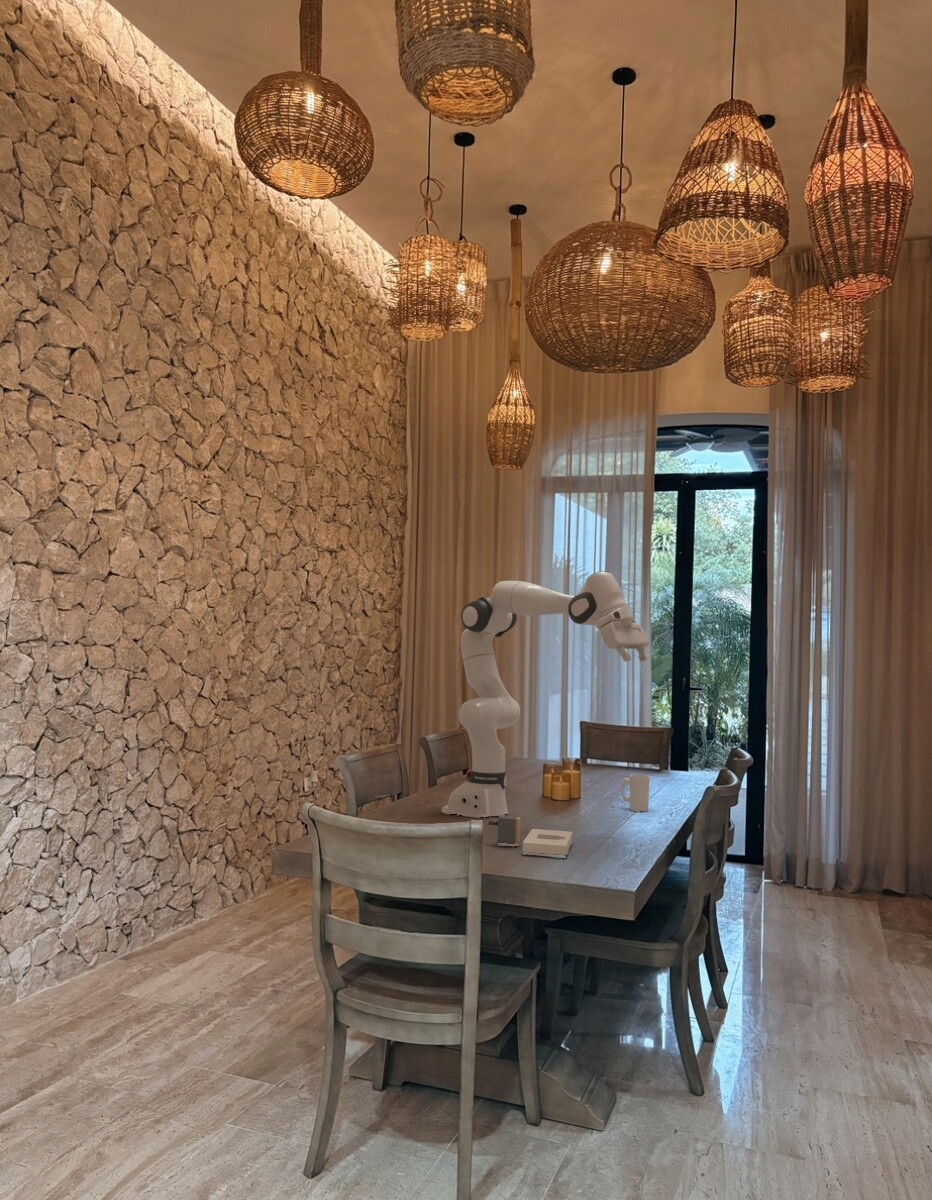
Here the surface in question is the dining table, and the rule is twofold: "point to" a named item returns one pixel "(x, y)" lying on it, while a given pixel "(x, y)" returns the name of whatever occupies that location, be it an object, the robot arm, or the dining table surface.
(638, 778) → the mug
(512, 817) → the plug
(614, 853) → the dining table surface
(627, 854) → the dining table surface
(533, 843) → the socket block
